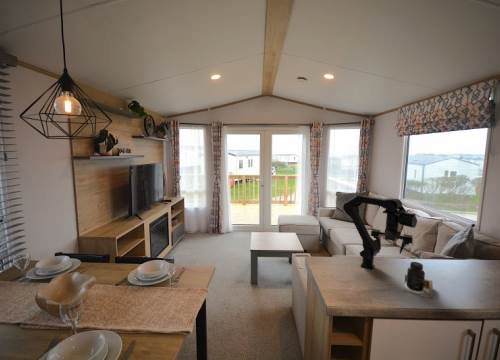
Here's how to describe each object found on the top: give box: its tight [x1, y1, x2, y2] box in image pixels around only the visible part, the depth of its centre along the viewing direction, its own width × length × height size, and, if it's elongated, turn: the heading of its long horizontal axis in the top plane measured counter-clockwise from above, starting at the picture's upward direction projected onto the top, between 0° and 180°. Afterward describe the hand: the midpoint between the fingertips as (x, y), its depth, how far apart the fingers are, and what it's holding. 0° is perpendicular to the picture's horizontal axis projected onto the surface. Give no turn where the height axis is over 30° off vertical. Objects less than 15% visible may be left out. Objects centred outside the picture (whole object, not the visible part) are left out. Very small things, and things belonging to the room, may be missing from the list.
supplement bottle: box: [406, 261, 426, 291], centre depth 114 cm, size 7×7×12 cm
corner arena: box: [402, 273, 434, 300], centre depth 115 cm, size 11×11×4 cm
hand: (389, 251), depth 128 cm, fingers open, 9 cm apart
